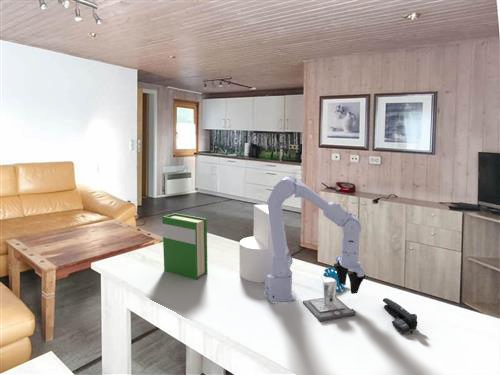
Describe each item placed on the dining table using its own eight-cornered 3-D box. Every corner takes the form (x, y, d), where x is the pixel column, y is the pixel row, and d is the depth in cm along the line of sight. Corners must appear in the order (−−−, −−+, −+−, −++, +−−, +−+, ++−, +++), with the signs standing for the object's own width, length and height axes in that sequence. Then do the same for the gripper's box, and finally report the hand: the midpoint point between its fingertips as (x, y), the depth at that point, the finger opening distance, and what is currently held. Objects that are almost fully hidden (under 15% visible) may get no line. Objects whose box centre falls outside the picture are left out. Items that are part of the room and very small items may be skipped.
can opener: (423, 335, 108) (424, 318, 107) (400, 336, 107) (402, 319, 106) (394, 306, 125) (395, 291, 124) (375, 307, 124) (376, 292, 123)
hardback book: (207, 273, 151) (206, 218, 147) (196, 280, 145) (195, 222, 141) (176, 265, 160) (174, 213, 156) (164, 270, 154) (162, 216, 150)
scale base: (320, 322, 114) (320, 316, 114) (302, 302, 127) (302, 298, 126) (355, 316, 118) (356, 311, 118) (335, 298, 130) (335, 293, 130)
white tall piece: (271, 263, 162) (272, 203, 158) (287, 279, 146) (288, 212, 141) (234, 268, 157) (234, 206, 152) (246, 284, 141) (247, 215, 136)
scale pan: (320, 313, 118) (320, 311, 118) (309, 302, 125) (309, 300, 125) (345, 309, 121) (345, 307, 121) (333, 298, 128) (333, 297, 128)
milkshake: (318, 301, 125) (319, 274, 123) (332, 300, 126) (334, 273, 124) (322, 307, 120) (323, 279, 119) (337, 306, 121) (339, 278, 120)
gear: (331, 291, 132) (321, 266, 137) (322, 297, 136) (312, 273, 141) (352, 288, 138) (342, 265, 143) (343, 294, 142) (333, 271, 147)
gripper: (373, 257, 116) (370, 296, 119) (348, 243, 130) (346, 278, 132) (354, 259, 114) (352, 298, 117) (331, 244, 128) (329, 280, 130)
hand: (348, 288), depth 124 cm, fingers open, 7 cm apart
